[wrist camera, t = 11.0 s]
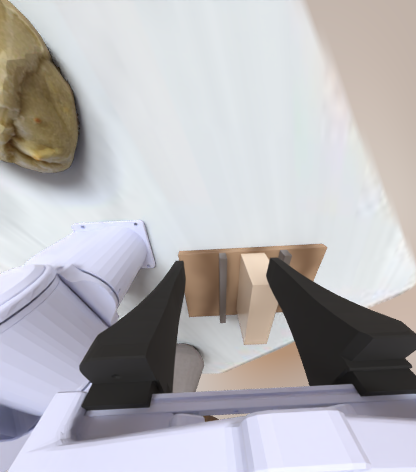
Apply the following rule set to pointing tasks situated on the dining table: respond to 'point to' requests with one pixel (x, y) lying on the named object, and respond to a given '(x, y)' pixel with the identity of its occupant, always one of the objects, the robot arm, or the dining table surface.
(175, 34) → the dining table surface
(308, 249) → the tan panel with rails
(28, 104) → the pastry
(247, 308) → the beige rectangular block
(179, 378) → the coffee pot
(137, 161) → the dining table surface
